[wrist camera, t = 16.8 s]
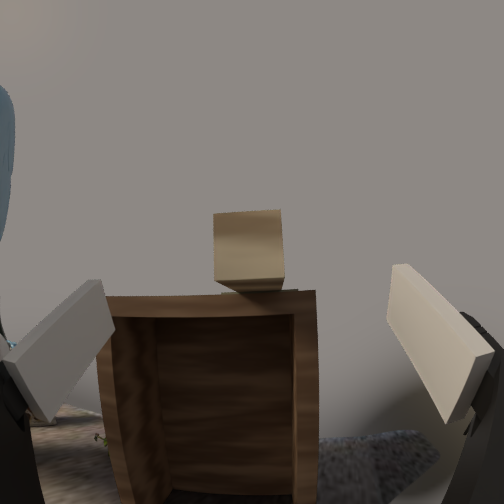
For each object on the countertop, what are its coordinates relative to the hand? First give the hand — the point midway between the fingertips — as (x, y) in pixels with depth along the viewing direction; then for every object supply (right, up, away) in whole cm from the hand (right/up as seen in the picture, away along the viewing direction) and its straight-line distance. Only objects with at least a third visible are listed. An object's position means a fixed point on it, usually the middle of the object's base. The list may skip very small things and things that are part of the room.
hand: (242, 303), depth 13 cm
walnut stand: (-3, -33, +16) cm, 36 cm away
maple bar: (+1, -2, +16) cm, 16 cm away
